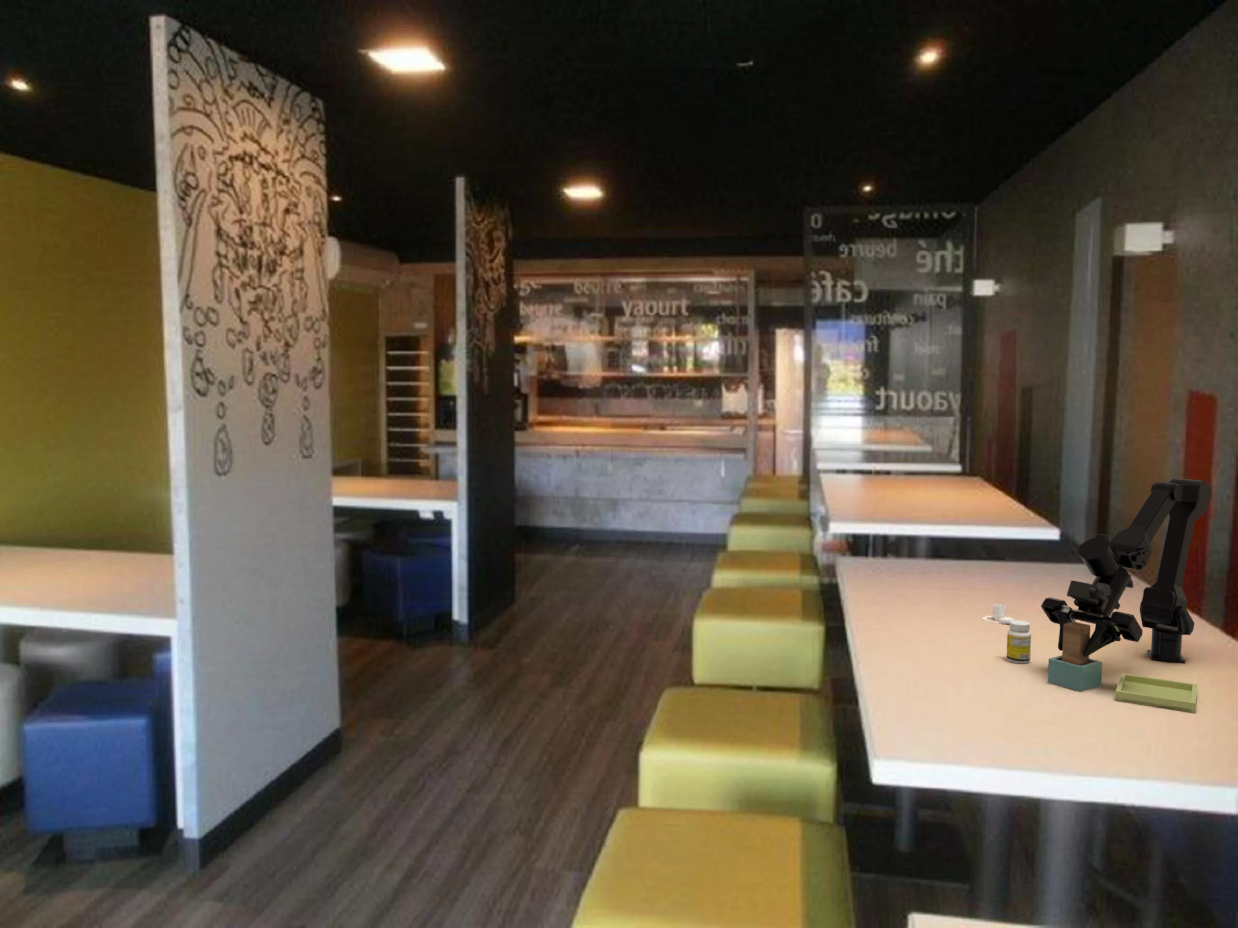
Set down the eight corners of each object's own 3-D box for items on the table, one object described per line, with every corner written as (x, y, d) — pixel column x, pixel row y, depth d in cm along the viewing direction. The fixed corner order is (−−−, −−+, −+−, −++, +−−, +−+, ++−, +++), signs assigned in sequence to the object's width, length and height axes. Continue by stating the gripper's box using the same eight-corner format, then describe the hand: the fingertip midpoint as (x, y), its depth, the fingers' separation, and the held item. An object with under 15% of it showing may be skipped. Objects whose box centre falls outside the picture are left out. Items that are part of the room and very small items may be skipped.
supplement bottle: (1010, 656, 212) (1012, 618, 211) (1033, 660, 209) (1034, 621, 208) (1003, 661, 208) (1004, 622, 207) (1026, 665, 205) (1027, 626, 204)
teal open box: (1068, 676, 198) (1069, 653, 197) (1101, 685, 192) (1102, 661, 191) (1047, 681, 194) (1048, 658, 193) (1080, 691, 188) (1081, 667, 187)
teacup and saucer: (1017, 627, 238) (1018, 611, 237) (982, 624, 240) (983, 608, 240) (1015, 619, 246) (1016, 603, 246) (982, 616, 249) (982, 600, 248)
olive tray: (1121, 681, 194) (1121, 673, 194) (1196, 693, 187) (1197, 684, 187) (1115, 700, 183) (1115, 690, 183) (1195, 712, 176) (1195, 703, 176)
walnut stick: (1071, 679, 195) (1073, 621, 194) (1087, 684, 192) (1090, 625, 191) (1060, 682, 193) (1063, 623, 192) (1077, 687, 190) (1080, 627, 189)
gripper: (1048, 558, 201) (1013, 618, 196) (1137, 574, 185) (1102, 639, 180) (1068, 591, 206) (1035, 650, 201) (1157, 609, 190) (1123, 673, 185)
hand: (1071, 652), depth 191 cm, fingers open, 5 cm apart
